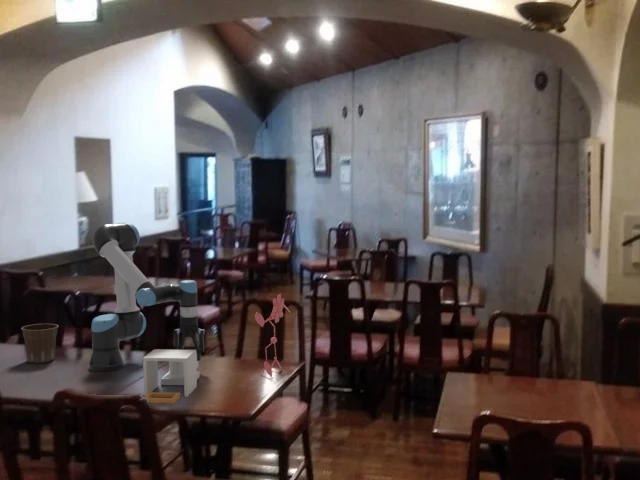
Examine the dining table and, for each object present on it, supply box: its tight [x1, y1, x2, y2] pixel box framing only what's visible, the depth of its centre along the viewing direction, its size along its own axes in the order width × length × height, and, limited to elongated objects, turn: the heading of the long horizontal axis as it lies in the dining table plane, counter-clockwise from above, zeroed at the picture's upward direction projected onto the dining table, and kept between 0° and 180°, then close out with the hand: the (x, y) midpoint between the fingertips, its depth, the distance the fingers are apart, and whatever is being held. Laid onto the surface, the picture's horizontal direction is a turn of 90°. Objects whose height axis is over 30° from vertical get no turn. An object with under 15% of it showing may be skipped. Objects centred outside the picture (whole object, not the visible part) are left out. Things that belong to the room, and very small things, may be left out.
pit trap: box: [144, 391, 181, 405], centre depth 272 cm, size 8×12×2 cm, turn 85°
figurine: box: [252, 293, 296, 379], centre depth 306 cm, size 15×26×35 cm, turn 158°
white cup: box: [168, 361, 184, 379], centre depth 295 cm, size 8×8×10 cm
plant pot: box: [20, 323, 59, 364], centre depth 334 cm, size 16×16×16 cm
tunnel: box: [142, 348, 198, 398], centre depth 283 cm, size 14×17×15 cm
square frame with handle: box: [160, 370, 201, 386], centre depth 303 cm, size 24×13×9 cm, turn 175°
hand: (190, 367), depth 313 cm, fingers open, 5 cm apart
